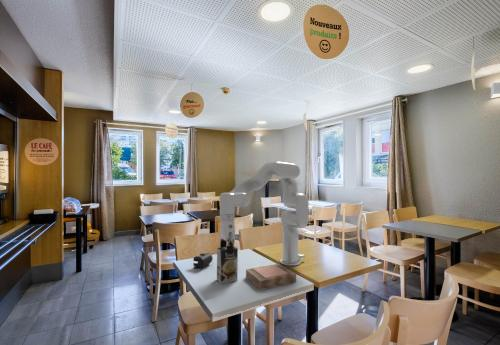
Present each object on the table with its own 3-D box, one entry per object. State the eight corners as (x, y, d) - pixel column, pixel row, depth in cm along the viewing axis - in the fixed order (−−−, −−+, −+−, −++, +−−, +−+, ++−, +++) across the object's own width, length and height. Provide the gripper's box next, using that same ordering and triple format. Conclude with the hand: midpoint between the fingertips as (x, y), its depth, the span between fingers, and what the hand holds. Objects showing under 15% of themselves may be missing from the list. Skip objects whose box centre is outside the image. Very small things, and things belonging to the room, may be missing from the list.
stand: (278, 271, 139) (278, 263, 139) (296, 281, 124) (296, 273, 125) (246, 277, 130) (246, 268, 130) (260, 289, 116) (260, 280, 116)
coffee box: (221, 284, 122) (221, 250, 122) (216, 279, 128) (216, 247, 128) (238, 280, 126) (238, 248, 126) (232, 276, 132) (232, 245, 132)
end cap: (203, 270, 140) (203, 258, 140) (192, 268, 143) (193, 256, 143) (212, 264, 149) (212, 253, 149) (202, 263, 152) (202, 251, 152)
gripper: (240, 219, 121) (240, 254, 121) (228, 214, 137) (227, 246, 136) (226, 220, 118) (225, 256, 117) (214, 215, 134) (214, 247, 133)
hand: (226, 251), depth 127 cm, fingers open, 9 cm apart
